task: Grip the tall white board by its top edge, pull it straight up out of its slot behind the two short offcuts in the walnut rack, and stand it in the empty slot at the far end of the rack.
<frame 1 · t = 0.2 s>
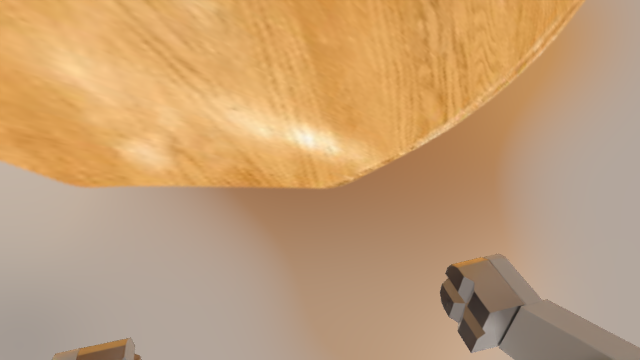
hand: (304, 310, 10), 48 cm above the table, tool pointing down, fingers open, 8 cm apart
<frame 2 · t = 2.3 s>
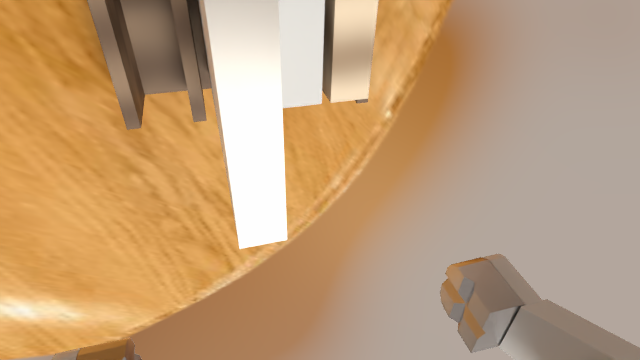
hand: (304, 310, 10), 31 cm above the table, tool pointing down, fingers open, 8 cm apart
white board: (213, 1, 33), point 1 cm above the table, touching walnut rack
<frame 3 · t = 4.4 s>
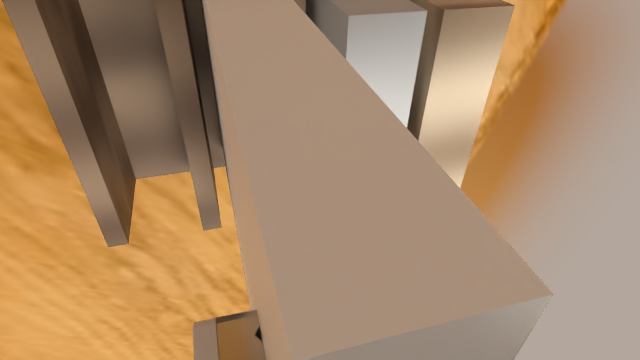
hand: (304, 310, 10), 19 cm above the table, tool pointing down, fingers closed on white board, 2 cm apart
walnut rack: (261, 50, 25), on the table
white board: (230, 59, 24), point 1 cm above the table, touching gripper, walnut rack
grey offcut: (312, 52, 25), point 1 cm above the table, touching walnut rack
tan offcut: (369, 48, 26), point 1 cm above the table, touching walnut rack
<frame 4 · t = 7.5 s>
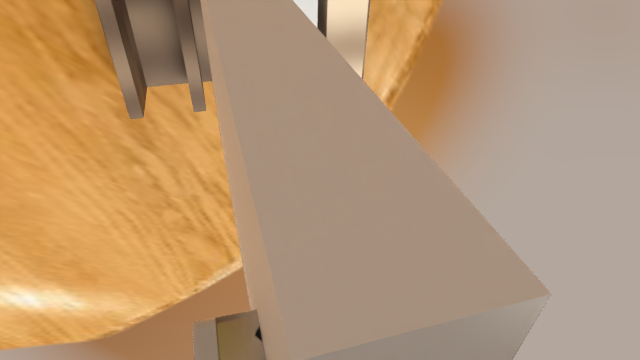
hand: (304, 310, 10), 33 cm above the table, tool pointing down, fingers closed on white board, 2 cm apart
white board: (230, 59, 24), point 15 cm above the table, touching gripper
when the fingers open (20 cm above the table, at t = 10.5 s): white board drops 1 cm, resting on walnut rack.
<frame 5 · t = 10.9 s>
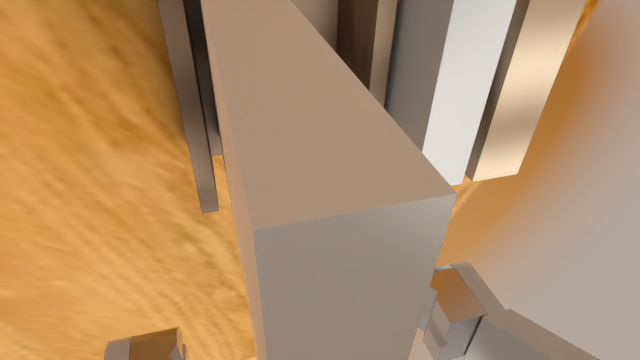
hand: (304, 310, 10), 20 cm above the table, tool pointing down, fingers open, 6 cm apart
walnut rack: (331, 37, 27), on the table
white board: (227, 50, 25), point 1 cm above the table, touching walnut rack
grey offcut: (379, 39, 27), point 1 cm above the table, touching walnut rack
tan offcut: (428, 35, 28), point 1 cm above the table, touching walnut rack
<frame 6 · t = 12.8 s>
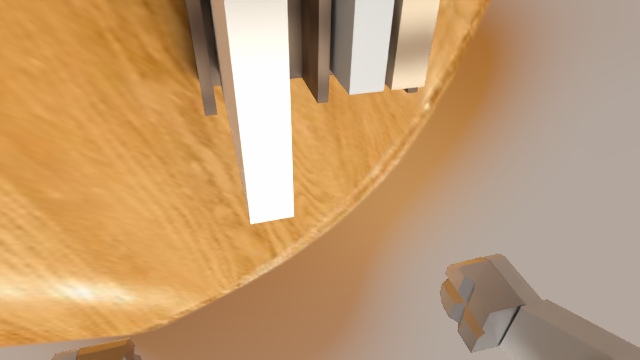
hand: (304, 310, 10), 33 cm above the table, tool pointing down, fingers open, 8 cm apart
white board: (222, 3, 35), point 1 cm above the table, touching walnut rack
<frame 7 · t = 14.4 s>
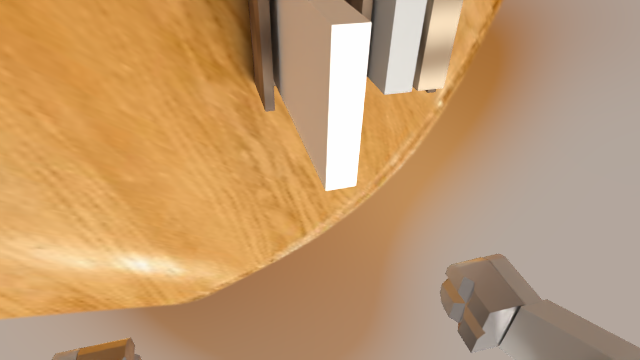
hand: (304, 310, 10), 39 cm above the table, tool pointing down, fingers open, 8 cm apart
walnut rack: (338, 13, 46), on the table
white board: (278, 19, 43), point 1 cm above the table, touching walnut rack
grey offcut: (366, 14, 46), point 1 cm above the table, touching walnut rack
tan offcut: (396, 12, 46), point 1 cm above the table, touching walnut rack
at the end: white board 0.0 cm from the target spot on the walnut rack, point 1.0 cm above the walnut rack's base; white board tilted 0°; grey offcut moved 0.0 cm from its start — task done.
